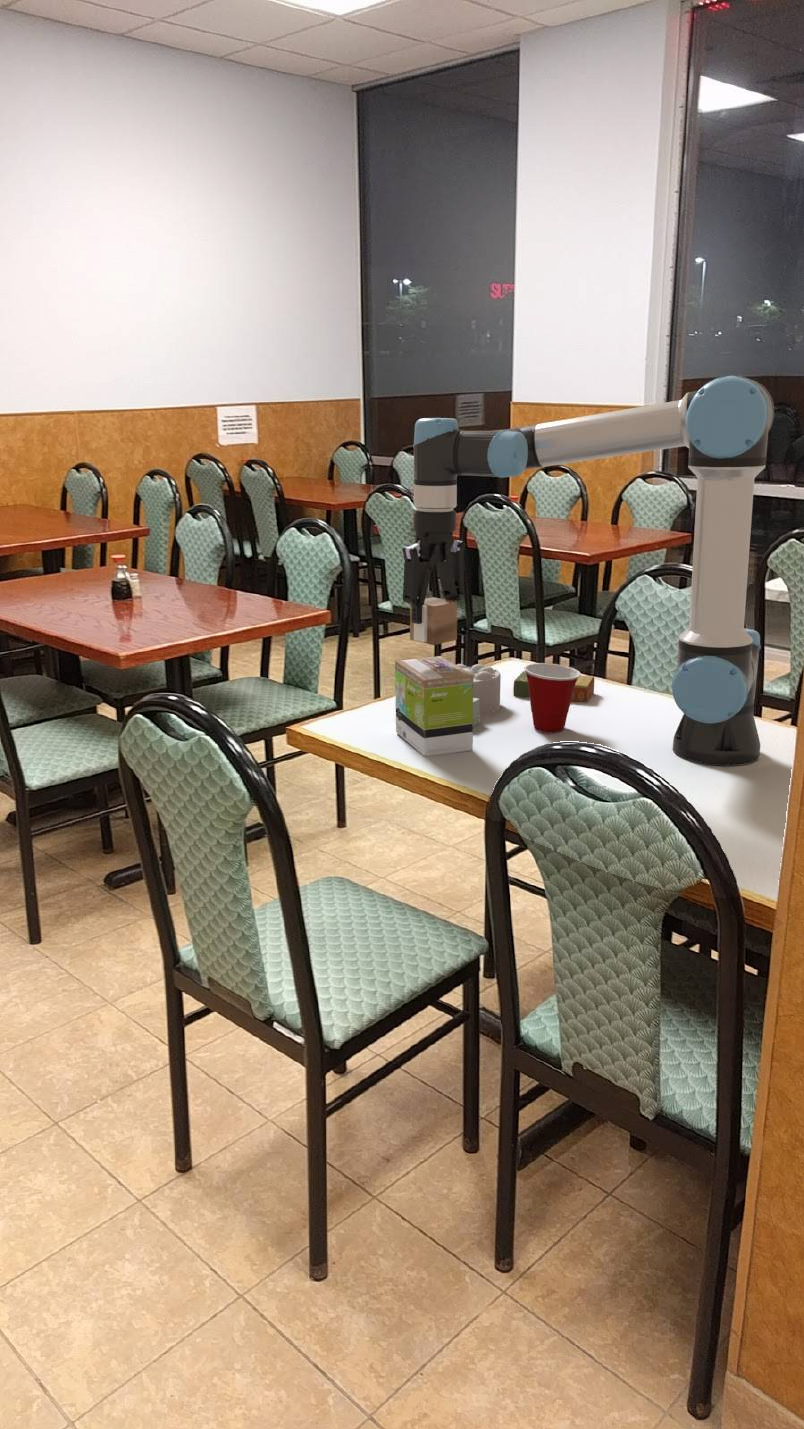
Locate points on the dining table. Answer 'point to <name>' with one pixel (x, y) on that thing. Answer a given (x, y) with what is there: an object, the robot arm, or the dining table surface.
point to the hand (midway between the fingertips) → (433, 637)
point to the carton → (580, 692)
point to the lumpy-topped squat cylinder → (485, 687)
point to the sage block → (476, 710)
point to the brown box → (438, 621)
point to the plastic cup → (550, 694)
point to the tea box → (434, 705)
